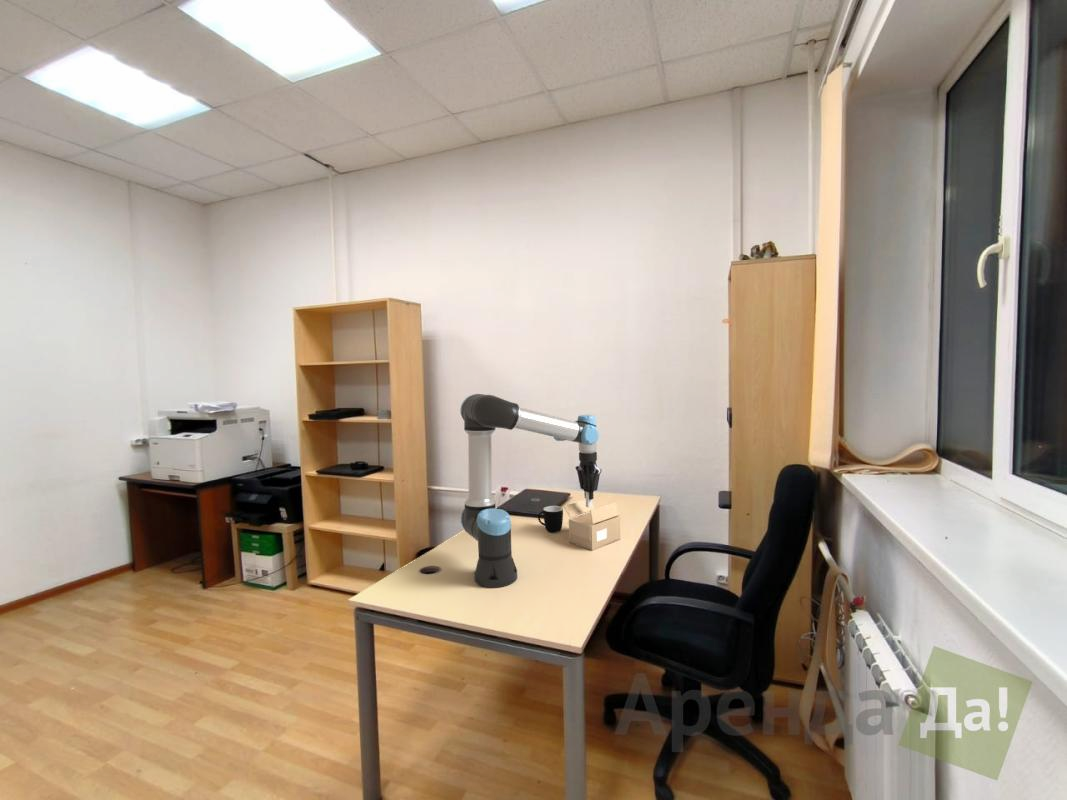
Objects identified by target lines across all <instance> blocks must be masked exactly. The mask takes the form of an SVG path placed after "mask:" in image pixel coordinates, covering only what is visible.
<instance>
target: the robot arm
mask: <svg viewBox="0 0 1067 800" xmlns="http://www.w3.org/2000/svg"><path fill="white" fill-rule="evenodd" d="M459 411H460V415H461V418H462V420H463V422H464V425H463V426H464V427H463V428H464V429H463V431H464V432H465V433H466V434H467V435H468V438H467V439H468V449H467V450H468V498H467V499H466V500H465V501H464V509H463V510H462V511H461V515H460V522H461V523H460V524H461V526H462V527H463V530H464V531H465V532H466V533H467V534H468V535H469V536H471V537H472V538H473V539H474V540H475V541H477V547H478V550H477V551H478V560H477V564H476V567H475V571H474V573H473V574H474V576H473V577H474V583H476V584H477V585H479V586H480V587H485V588H493V589H494V588H502V587H506V586H507V587H508V586H509V585H511V584H513V583H515V582H516V581H517V579H518V569H517V566H516V563H515V561H514V558H513V555H512V554H513V553H512V523H511V516H510V514H509V513H508V512H507V511H506V510H503V509H500V508H499V509H498V508H496V501H495V499H494V498H493V497H492V434H493V433H495V431H496V429H497V428H498V429H504V430H510V431H513V430H514V429H519V430H521V431H522V430H523V431H527V432H530V433H531V432H532V433H536V434H539V435H544V436H549V437H553V439H554V440H555V441H557V442H564V441H568V442H574V443H578V451H579V452H578V460H579V461H580V462H579V464H578V465H576V466H575V470H576V472H577V477H578V482H579V488H580V489H581V490H582V491H584V492H583V493H584V499H585V500H586V507H591V506H593V505H594V504H593V500H594V493H595V492H596V491H598V489H599V481H600V475H601V473H602V469H601V468H600V469H599V467H598V464H597V461H598V452H597V451H598V450H597V448H598V447H597V441H598V440H599V436H600V433H599V429H598V428H597V419H596V416H595V415H592V414H581V415H580V414H579V415H578V416H577V420H571V419H566V418H563V417H559V416H555V415H550V414H546V413H543V412H538V411H534V410H531V409H527V408H524V407H520V405H519V404H518V403H517V402H513V401H512V402H511V401H509V400H507V399H506V400H505V399H504V398H500V397H498V396H495V395H494V394H493V395H492V394H484V393H475V394H471V395H469V396H467V397H465V399H464V400H463V401H462V403H461V405H460V410H459Z"/></svg>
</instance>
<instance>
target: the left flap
mask: <svg viewBox="0 0 1067 800" xmlns="http://www.w3.org/2000/svg"><path fill="white" fill-rule="evenodd" d="M563 507H564V508H563V509H565V511H566V513H567V515H568V516H569V518H574V517H577V516H580V515H583V514H587V513H590V510H592V509H595V508H596V506H595V505H594V504H593V506H591V507H586V499H584V500H583V499H582V500H579V501H576V502H572V503H570V504H566V505H563Z"/></svg>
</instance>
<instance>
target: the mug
mask: <svg viewBox="0 0 1067 800" xmlns="http://www.w3.org/2000/svg"><path fill="white" fill-rule="evenodd" d="M542 514H543V521H544V522H542V520H541V515H542ZM537 518H538V519H537V520H538V522H539V523H540V525H542V526H544V527H545V530H546V532H548V533H552V534H556V533H559V532H561V531H562V527H563V521H564V508H563V507H561V506H558V505H549V506H545V507H543V509H542V511H540V512H539V513H538V515H537Z"/></svg>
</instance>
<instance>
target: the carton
mask: <svg viewBox="0 0 1067 800" xmlns="http://www.w3.org/2000/svg"><path fill="white" fill-rule="evenodd" d="M568 536H569V537H568V539H569V541H568V542H569V543H570V544H571V545H572V544H573V545H576V546H578V547H579V548H580V547H581V548H582V549H583V548H584V549H585V550H589V551H592V552H593V551H595V550H598V549H601V548H603V547H605V546H608V545H610V544H614V543H615V542H618V541H621V516H620V515H619V514H618V515H617V516H615V517H612V518H609V519H606V520H603V521H600V522H597V523H594V524H592V520H591V513H590V512H586V513H583V514H580V515H577V516H573V517H570V518H569V519H568Z"/></svg>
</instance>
